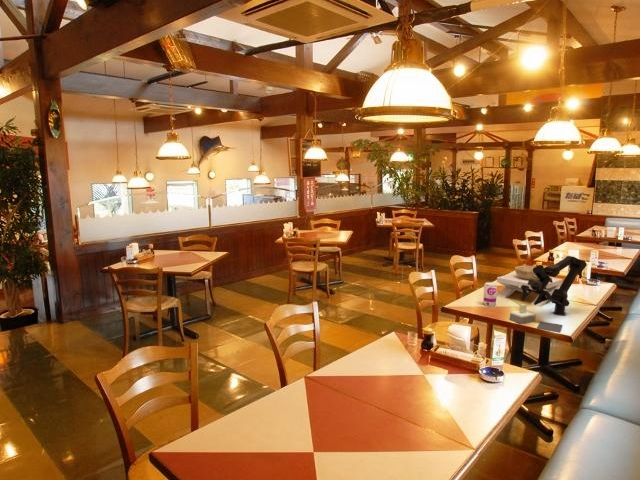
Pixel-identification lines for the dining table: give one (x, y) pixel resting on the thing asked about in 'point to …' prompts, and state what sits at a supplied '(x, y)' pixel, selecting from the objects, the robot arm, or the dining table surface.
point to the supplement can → (490, 294)
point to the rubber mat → (549, 326)
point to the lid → (522, 312)
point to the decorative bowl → (524, 282)
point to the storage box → (522, 319)
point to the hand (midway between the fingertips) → (527, 302)
